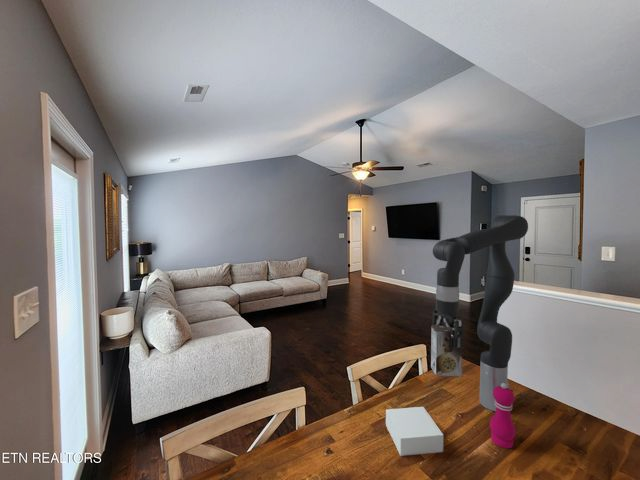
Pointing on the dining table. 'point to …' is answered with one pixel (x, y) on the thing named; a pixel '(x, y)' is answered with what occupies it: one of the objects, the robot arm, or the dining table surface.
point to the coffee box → (445, 352)
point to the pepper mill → (502, 417)
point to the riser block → (413, 431)
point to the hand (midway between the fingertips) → (446, 343)
